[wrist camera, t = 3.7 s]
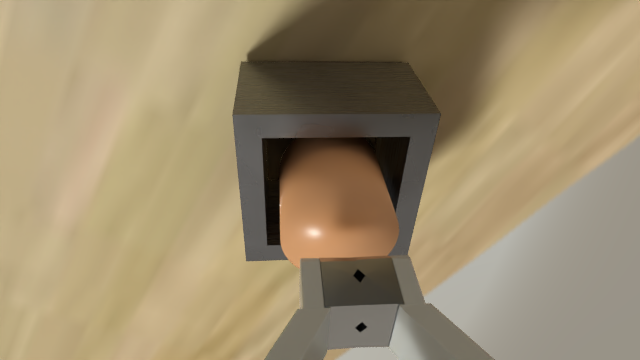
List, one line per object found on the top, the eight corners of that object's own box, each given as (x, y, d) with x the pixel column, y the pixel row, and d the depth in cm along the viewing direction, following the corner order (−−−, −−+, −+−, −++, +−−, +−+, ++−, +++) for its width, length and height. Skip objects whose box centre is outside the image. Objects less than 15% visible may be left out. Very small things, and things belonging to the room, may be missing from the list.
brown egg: (280, 208, 17) (281, 279, 14) (278, 127, 14) (279, 192, 12) (371, 205, 17) (390, 274, 14) (382, 126, 15) (408, 189, 12)
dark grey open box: (251, 194, 19) (246, 261, 16) (241, 61, 15) (232, 114, 12) (386, 191, 20) (407, 255, 17) (407, 62, 16) (441, 113, 13)
